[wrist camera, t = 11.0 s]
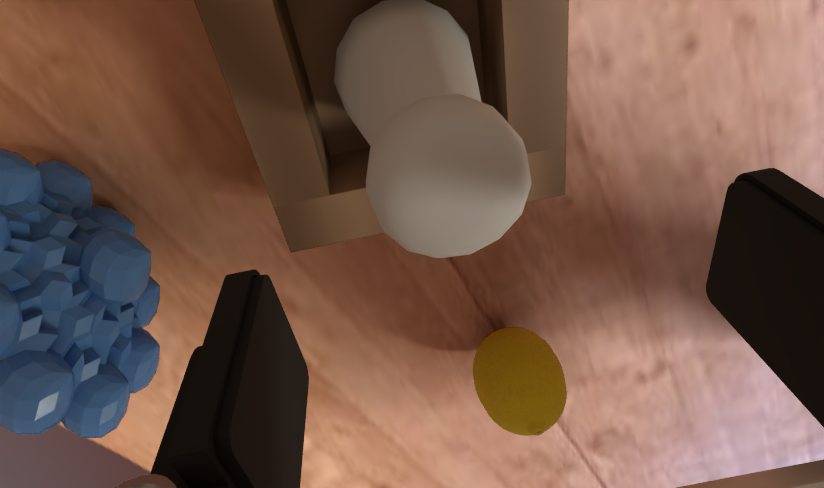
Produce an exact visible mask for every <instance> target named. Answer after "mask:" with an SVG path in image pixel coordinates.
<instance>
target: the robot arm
mask: <svg viewBox="0 0 824 488" xmlns="http://www.w3.org/2000/svg"><path fill="white" fill-rule="evenodd" d="M706 292H707V296H708V298H709V300H710V302H711V303H712V304H713V305H714V306H715V307H716V309H717V310H718V311H719V312H720V313H721V314H722V315H723V316H724V317H725V319H726V320H727V321H728V322H729V323H730V324H731V325H732V326H733V327H734V329H735V330H736V331H737V332H738V333H739V334H740V335H741V336H742V337H743V338H744V340H745V341H746V342H747V343H748V344H749V345H750V346H751V347H752V348H753V350H754V351H755V352H756V353H757V354H758V355H759V356H760V357H761V358H762V359H763V361H764V362H765V363H766V364H767V365H768V366H769V367H770V368H771V369H772V371H773V372H774V373H775V374H776V375H777V376H778V377H779V378H780V379H781V381H782V382H783V383H784V384H785V385H786V386H787V387H788V388H789V389H790V390H791V392H792V393H793V394H794V395H795V396H796V397H797V398H798V399H799V400H800V402H801V403H802V404H803V405H804V406H805V407H806V408H807V409H808V410H809V411H810V413H811V414H812V415H813V416H814V417H815V418H816V419H817V420H818V421H819V423H820V424H821V425H822V426H823V427H824V198H823V197H821V196H819V195H818V194H816V193H815V192H813V191H811V190H810V189H808V188H807V187H805V186H803V185H802V184H800V183H799V182H797V181H795V180H794V179H792V178H791V177H789V176H787V175H786V174H784V173H783V172H781V171H779V170H777V169H775V168H768V169H763V170H758V171H753V172H748V173H743V174H741V175H739V176H738V177H737V178H736V179H735V182H734V183H732V184H730V186H729V187H728V189H727V193H726V198H725V202H724V207H723V211H722V216H721V220H720V225H719V229H718V234H717V238H716V243H715V247H714V252H713V257H712V261H711V266H710V270H709V275H708V279H707V284H706ZM308 383H309V376H308V369H307V365H306V362H305V360H304V358H303V355H302V353H301V350H300V348H299V346H298V343H297V341H296V339H295V336H294V334H293V331H292V329H291V327H290V324H289V322H288V319H287V317H286V315H285V312H284V310H283V308H282V305H281V303H280V300H279V298H278V296H277V293H276V291H275V288H274V286H273V284H272V281H271V279H270V277H269V276H268V275H261V276H260V274H259V272H258V271H257V270H249V271H244V272H239V273H234V274H229V275H227V276H226V277H225V279H224V282H223V285H222V288H221V291H220V294H219V297H218V300H217V303H216V306H215V309H214V312H213V315H212V318H211V321H210V324H209V327H208V330H207V333H206V336H205V339H204V343H203V346H200V347H197V348H196V349H195V350H194V352H193V354H192V356H191V358H190V361H189V364H188V367H187V369H186V372H185V375H184V378H183V381H182V384H181V387H180V390H179V393H178V395H177V398H176V401H175V404H174V407H173V410H172V413H171V416H170V419H169V421H168V424H167V427H166V430H165V433H164V436H163V439H162V442H161V445H160V447H159V450H158V453H157V456H156V459H155V462H154V465H153V468H152V471H151V473H150V474H147V475H140V476H137V477H135V478H132V479H130V480H127V481H124V482H123V483H121V484H120V485H118V486H117V487H115V488H300V480H301V467H302V455H303V443H304V431H305V419H306V407H307V395H308ZM677 488H824V460H820V461H814V462H809V463H804V464H798V465H793V466H788V467H782V468H777V469H772V470H766V471H761V472H755V473H750V474H745V475H740V476H734V477H729V478H724V479H719V480H714V481H708V482H703V483H698V484H693V485H687V486H682V487H677Z"/></svg>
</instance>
